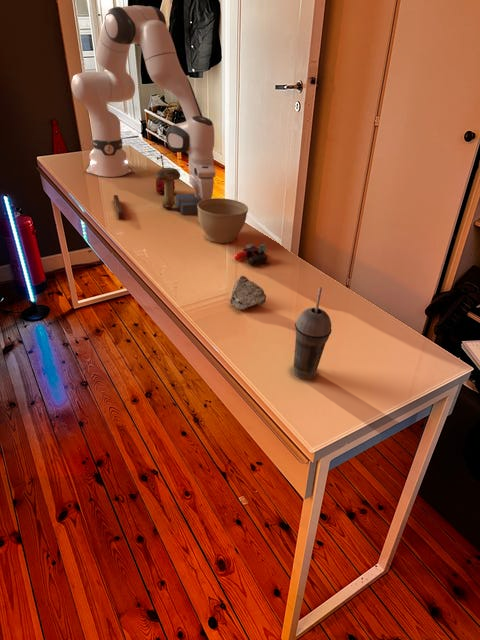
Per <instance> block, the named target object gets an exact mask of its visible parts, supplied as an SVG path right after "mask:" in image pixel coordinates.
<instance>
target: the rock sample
mask: <svg viewBox="0 0 480 640" xmlns="http://www.w3.org/2000/svg"><path fill="white" fill-rule="evenodd" d="M266 300H267V294H266V293H265V291H264V289H263V288H262V286H260V285H258V284H257V283H256V282H254V281H252V280H250V279H249V278H248V277H246V275H240V277H239V278H238V279H237V280H236V281H235V283H234V285H233V288H232V290H231V295H230V298H229V303H230V305H232V307H234V308H235V310H247V309H248V308H250V307H253V306H256V305H264V304H265V303H266Z"/></svg>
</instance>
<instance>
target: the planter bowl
mask: <svg viewBox="0 0 480 640" xmlns="http://www.w3.org/2000/svg"><path fill="white" fill-rule="evenodd" d="M197 208H198V214H197V217H198V221H199V225H200V227H201V229H202V230H203V233H204V234H205V238H206V239H207V240H209V241H211V242H213V243H217V244H227V243H231V242H233V241H235V240H236V237H237V236H238V234H240V233H241V231H242V229H243V227H244V226H245V223H246V221H247V215H248V211H249V206H248V205H246V203H243V202H242V201H239V200H236V199H231V198H220V197H218V198H217V197H214V198H213V197H212V198H211V199H205V200H202V201H200V202H199V203H198V204H197Z"/></svg>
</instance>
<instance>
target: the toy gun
mask: <svg viewBox="0 0 480 640" xmlns="http://www.w3.org/2000/svg"><path fill="white" fill-rule="evenodd" d="M265 250H266V243H264V242H263V243H262V244H261V245H259V246H256V245H254V244H253V243H251V242H250V243H247V245H246V247H245V248H243V250H242V251H240V252H239V251H238V253H236V254H234V257H233V258H234V260H235V261H237V262H238V261H240V260H243V259H245V258H248V264H249V265H250V266H251V267H254V266H257V265H261V264H267V263H268V257H269V255H267V253H265Z"/></svg>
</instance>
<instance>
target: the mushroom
mask: <svg viewBox="0 0 480 640" xmlns="http://www.w3.org/2000/svg"><path fill="white" fill-rule="evenodd" d="M155 177H157V179H158V180H164V187H165V195H163V199H162V207H163V208H164V209H166V210H170V209H171V208H173V207H174V206H175V205H176V197H175V190H174V191H173V180H174V181H175V180H176V181H177V180H179V179H180V178H181V173H180V171H179V169H177V168H174V167H164V168H162V167H161V169H158V171H157V172H156V174H155Z"/></svg>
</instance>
